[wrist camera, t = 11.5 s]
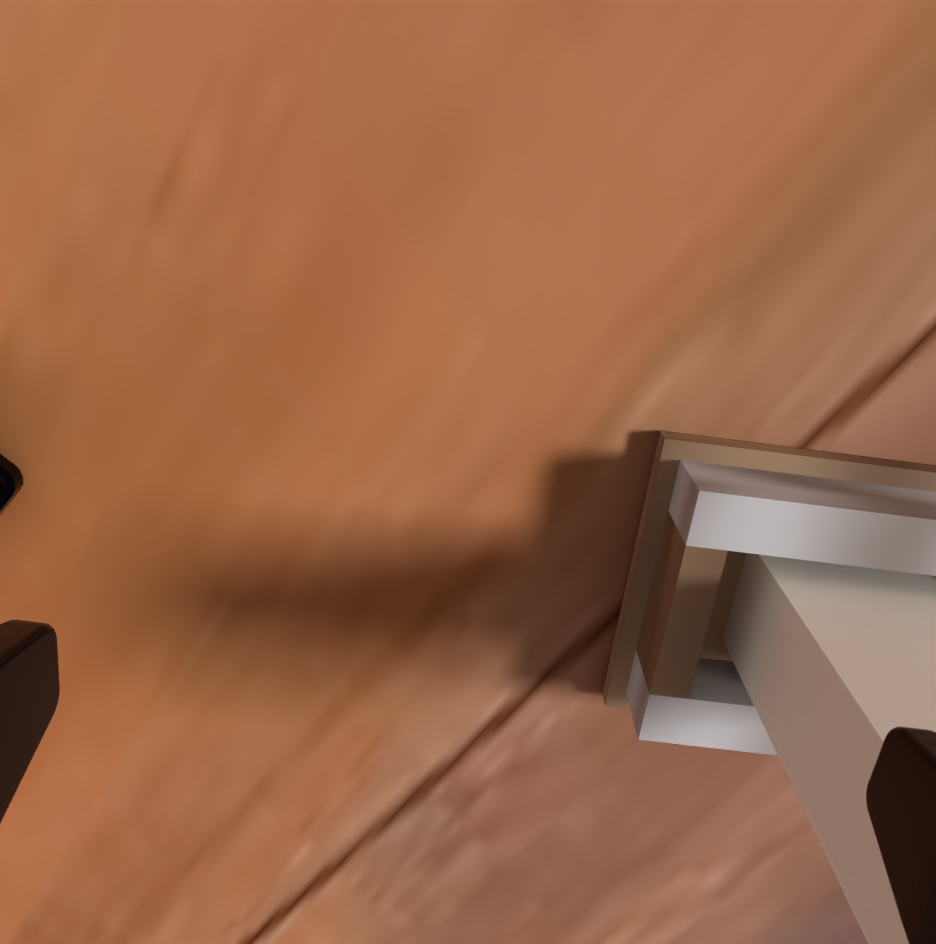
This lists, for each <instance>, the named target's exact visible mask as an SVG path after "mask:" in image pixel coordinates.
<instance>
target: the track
mask: <svg viewBox="0 0 936 944" xmlns="http://www.w3.org/2000/svg"><path fill="white" fill-rule="evenodd" d="M746 553H751V554H759V555H768V556H776V557H784V558H792V559H800V560H809V561H817V562H825V563H833V564H841V565H850V566H858V567H866V568H874V569H882V570H891V571H899V572H907V573H915V574H923V575H932V576H934V577H935V578H936V466H934V465H927V464H919V463H911V462H903V461H895V460H887V459H879V458H871V457H863V456H855V455H847V454H839V453H831V452H824V451H816V450H808V449H800V448H792V447H784V446H776V445H768V444H760V443H752V442H744V441H736V440H728V439H720V438H713V437H705V436H697V435H689V434H681V433H673V432H665V431H660V434H659V438H658V443H657V447H656V452H655V456H654V461H653V465H652V470H651V474H650V479H649V484H648V488H647V493H646V497H645V502H644V506H643V511H642V515H641V520H640V524H639V529H638V533H637V538H636V542H635V547H634V552H633V556H632V561H631V565H630V570H629V574H628V579H627V583H626V588H625V592H624V597H623V601H622V606H621V610H620V615H619V620H618V624H617V629H616V633H615V638H614V642H613V647H612V651H611V656H610V660H609V665H608V669H607V674H606V678H605V683H604V687H603V692H602V693H603V697H604V702H605V705H608V706H616V707H625V708H630V709H631V713H632V717H633V721H634V724H635V728H636V732H637V736H638V740H647V741H656V742H665V743H673V744H682V745H691V746H700V747H708V748H717V749H726V750H735V751H743V752H752V753H761V754H770V755H777V753H776V750H775V748H774V746H773V744H772V742H771V740H770V738H769V736H768V734H767V732H766V730H765V727H764V725H763V723H762V721H761V719H760V717H759V715H758V713H757V711H756V709H755V707H754V705H753V702H752V700H751V698H750V696H749V694H748V692H747V690H746V688H745V686H744V684H743V682H742V680H741V677H740V675H739V673H738V671H737V669H736V667H735V665H734V663H733V661H732V659H731V657H730V655H729V652H728V650H727V648H726V646H725V644H724V642H723V640H722V639H723V636H724V632H725V629H726V625H727V621H728V618H729V614H730V611H731V607H732V603H733V600H734V596H735V593H736V589H737V585H738V582H739V578H740V575H741V571H742V567H743V564H744V560H745V557H746Z"/></svg>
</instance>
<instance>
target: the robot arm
mask: <svg viewBox="0 0 936 944" xmlns="http://www.w3.org/2000/svg"><path fill="white" fill-rule="evenodd" d="M0 476H1V477H2V478H3V479H4V480H5V483H6V486H1V485H0V514H1V513H2V512H3V511H4V509H5V508H6V507H7V506H8V505H9V503H10V502H11V501H12V500H13V498H14V497H15V496H16V495H17V493H18V492H19V491H20V490H21V487H22V485H23V476H22V474H21V472H20V470H19V469H18V468H17V467H16V466H15V465H14V464H13V463H12V462H10V461H9V460H8V459H6V458H5V457H4V456H2V455H1V454H0ZM59 691H60V687H59V669H58V651H57V637H56V633H55V630H54V628H52V627H51V626H50V625H49V624H46V623H38V622H30V621H22V620H10V621H7V622H5V623H2V624H0V823H1V821H2V819H3V817H4V815H5V813H6V811H7V809H8V807H9V805H10V803H11V801H12V798H13V796H14V794H15V792H16V790H17V788H18V786H19V784H20V782H21V780H22V778H23V776H24V774H25V772H26V770H27V768H28V766H29V764H30V762H31V760H32V758H33V756H34V754H35V752H36V749H37V747H38V745H39V743H40V741H41V739H42V737H43V735H44V733H45V731H46V729H47V727H48V725H49V723H50V721H51V719H52V717H53V715H54V712H55V710H56V707H57V704H58V699H59ZM866 803H867V809H868V813H869V816H870V820H871V823H872V826H873V829H874V833H875V836H876V839H877V843H878V846H879V849H880V853H881V856H882V859H883V862H884V866H885V869H886V872H887V876H888V879H889V882H890V885H891V889H892V892H893V895H894V899H895V902H896V905H897V909H898V912H899V915H900V918H901V922H902V925H903V928H904V931H905V934H906V936H907V939H908V942H909V944H936V732H934V731H931V730H926V729H918V728H909V727H900V726H899V727H895V728H893V729H891V730H890V731H889V732H888V734H887V735H886V737H885V739H884V742H883V745H882V747H881V750H880V753H879V755H878V758H877V761H876V763H875V766H874V768H873V771H872V774H871V776H870V779H869V782H868V785H867V790H866Z"/></svg>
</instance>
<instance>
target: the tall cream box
mask: <svg viewBox="0 0 936 944" xmlns="http://www.w3.org/2000/svg"><path fill="white" fill-rule="evenodd" d="M722 640H723V642H724V644H725V646H726V648H727V650H728V652H729V655H730V657H731V659H732V661H733V663H734V665H735V667H736V669H737V671H738V673H739V675H740V677H741V680H742V682H743V684H744V686H745V688H746V690H747V692H748V694H749V696H750V698H751V700H752V702H753V705H754V707H755V709H756V711H757V713H758V715H759V717H760V719H761V721H762V723H763V725H764V727H765V730H766V732H767V734H768V736H769V738H770V740H771V742H772V744H773V746H774V748H775V750H776V753H777V755H778V757H779V759H780V761H781V763H782V765H783V767H784V769H785V771H786V773H787V775H788V778H789V780H790V782H791V784H792V786H793V788H794V790H795V792H796V794H797V796H798V798H799V800H800V803H801V805H802V807H803V809H804V811H805V813H806V815H807V817H808V819H809V821H810V823H811V825H812V828H813V830H814V832H815V834H816V836H817V838H818V840H819V842H820V844H821V846H822V848H823V851H824V853H825V855H826V857H827V859H828V861H829V863H830V865H831V867H832V869H833V871H834V873H835V876H836V878H837V880H838V882H839V884H840V886H841V888H842V890H843V892H844V894H845V896H846V898H847V901H848V903H849V905H850V907H851V909H852V911H853V913H854V915H855V917H856V919H857V921H858V923H859V926H860V928H861V930H862V932H863V934H864V936H865V938H866V940H867V942H868V944H909V942H908V939H907V936H906V934H905V931H904V928H903V925H902V922H901V918H900V915H899V912H898V909H897V905H896V902H895V899H894V895H893V892H892V889H891V885H890V882H889V879H888V876H887V872H886V869H885V866H884V862H883V859H882V856H881V853H880V849H879V846H878V843H877V839H876V836H875V833H874V829H873V826H872V823H871V820H870V816H869V813H868V809H867V803H866V790H867V785H868V782H869V779H870V776H871V774H872V771H873V768H874V766H875V763H876V761H877V758H878V755H879V753H880V750H881V747H882V745H883V742H884V739H885V737H886V735H887V734H888V732H889V731H890V730H891V729H893V728H895V727H899V726H900V727H909V728H918V729H926V730H931V731H934V732H936V578H935V577H934V576H932V575H923V574H915V573H907V572H899V571H891V570H882V569H874V568H866V567H858V566H850V565H841V564H833V563H825V562H817V561H809V560H800V559H792V558H784V557H776V556H768V555H759V554H751V553H746V557H745V560H744V564H743V567H742V571H741V575H740V578H739V582H738V585H737V589H736V593H735V596H734V600H733V603H732V607H731V611H730V614H729V618H728V621H727V625H726V629H725V632H724V636H723V639H722Z"/></svg>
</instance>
